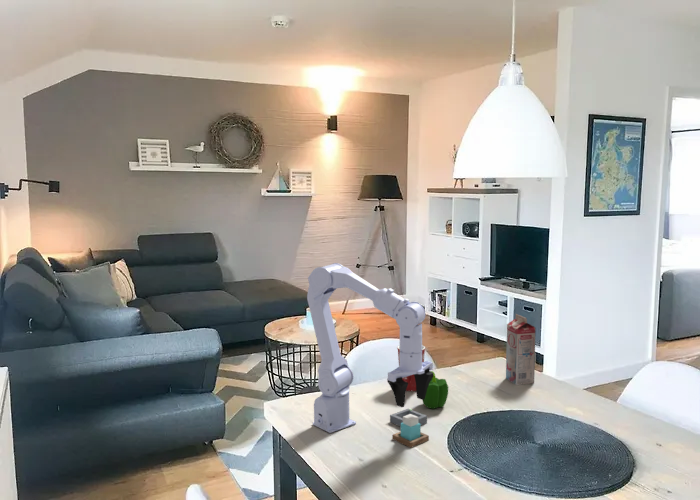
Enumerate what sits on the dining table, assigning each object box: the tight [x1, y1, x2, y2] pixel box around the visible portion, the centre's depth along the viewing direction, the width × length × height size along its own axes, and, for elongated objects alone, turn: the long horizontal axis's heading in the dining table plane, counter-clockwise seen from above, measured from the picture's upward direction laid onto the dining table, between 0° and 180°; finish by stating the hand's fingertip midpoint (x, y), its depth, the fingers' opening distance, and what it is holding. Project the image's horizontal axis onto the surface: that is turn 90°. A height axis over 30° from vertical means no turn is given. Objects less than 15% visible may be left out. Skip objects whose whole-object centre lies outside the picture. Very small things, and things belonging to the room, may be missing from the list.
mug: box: [396, 344, 426, 392], centre depth 188 cm, size 13×9×14 cm
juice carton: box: [505, 313, 536, 386], centre depth 195 cm, size 7×7×22 cm
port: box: [389, 408, 428, 428], centre depth 163 cm, size 7×7×2 cm
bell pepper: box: [421, 370, 449, 409], centre depth 175 cm, size 8×8×10 cm
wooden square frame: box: [391, 431, 430, 448], centre depth 152 cm, size 7×7×1 cm
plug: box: [400, 414, 422, 441], centre depth 152 cm, size 4×4×6 cm
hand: (410, 402), depth 151 cm, fingers open, 7 cm apart
